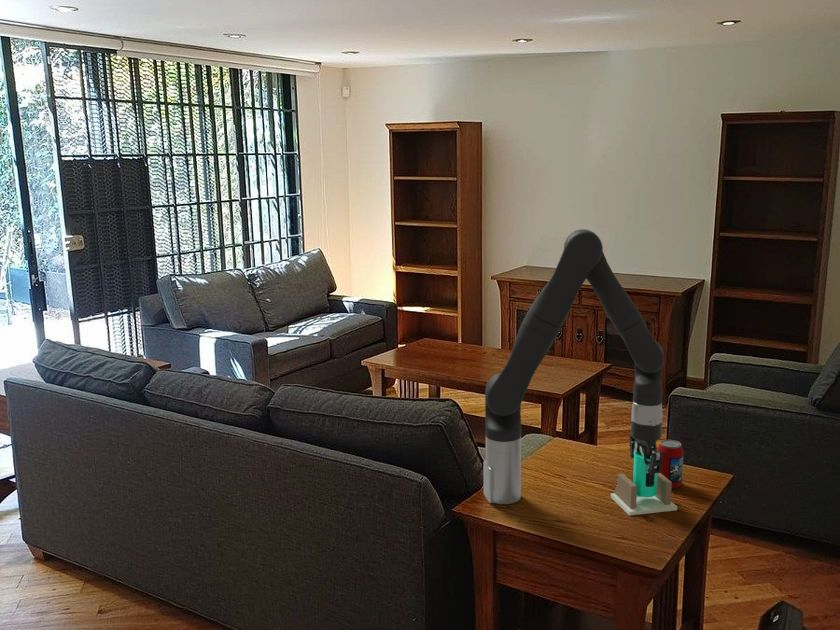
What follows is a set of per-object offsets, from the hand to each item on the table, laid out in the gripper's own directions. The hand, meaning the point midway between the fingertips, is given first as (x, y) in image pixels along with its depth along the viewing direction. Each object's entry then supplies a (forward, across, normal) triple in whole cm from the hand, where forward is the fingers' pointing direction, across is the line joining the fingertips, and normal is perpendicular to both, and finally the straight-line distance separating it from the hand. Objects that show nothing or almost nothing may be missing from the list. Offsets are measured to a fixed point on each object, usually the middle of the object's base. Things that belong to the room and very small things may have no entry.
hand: (644, 481), depth 205 cm
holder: (+6, 0, 0) cm, 6 cm away
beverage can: (+6, -9, +12) cm, 16 cm away
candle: (+3, 0, 0) cm, 3 cm away
